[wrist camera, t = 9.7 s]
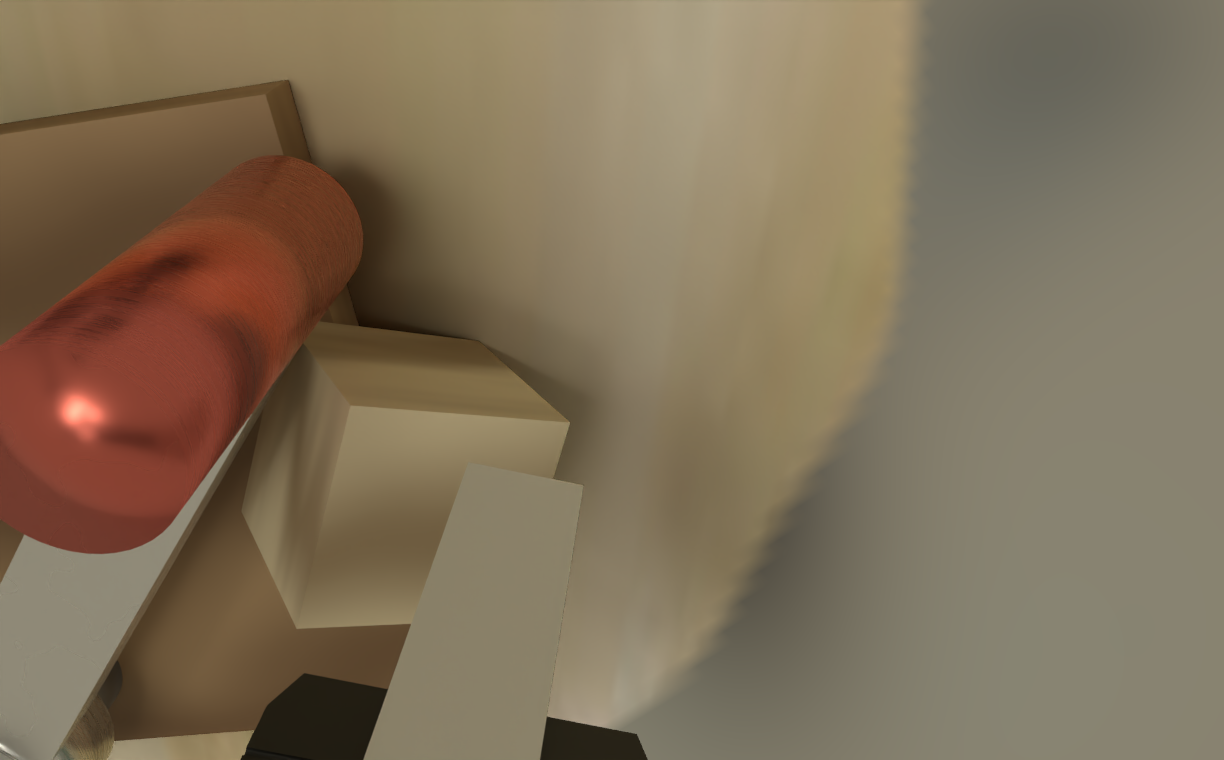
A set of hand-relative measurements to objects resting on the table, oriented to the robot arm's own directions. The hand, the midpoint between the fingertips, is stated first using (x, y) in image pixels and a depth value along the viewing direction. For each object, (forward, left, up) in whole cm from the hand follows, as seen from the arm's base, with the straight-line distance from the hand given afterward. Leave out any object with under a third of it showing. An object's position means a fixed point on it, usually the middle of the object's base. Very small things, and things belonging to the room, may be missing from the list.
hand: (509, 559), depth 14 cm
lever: (+5, -12, -10) cm, 16 cm away
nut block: (+4, -6, -11) cm, 13 cm away
